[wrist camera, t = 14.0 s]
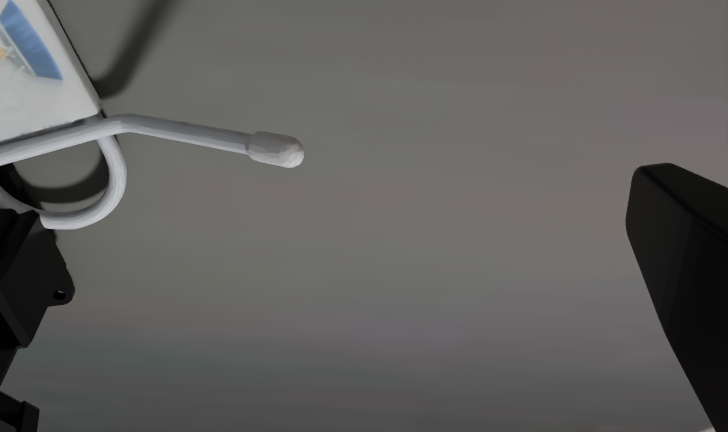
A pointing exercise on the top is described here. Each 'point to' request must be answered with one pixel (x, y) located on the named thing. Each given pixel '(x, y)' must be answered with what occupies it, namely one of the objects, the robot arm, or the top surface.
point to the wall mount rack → (85, 113)
